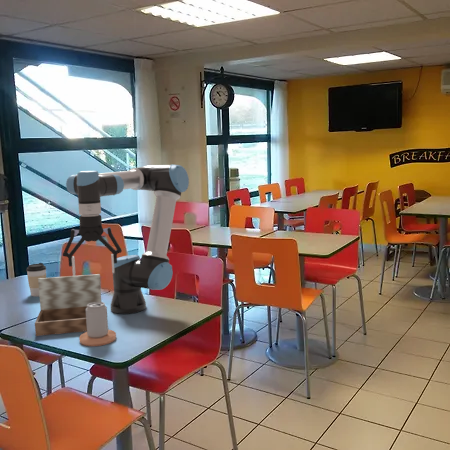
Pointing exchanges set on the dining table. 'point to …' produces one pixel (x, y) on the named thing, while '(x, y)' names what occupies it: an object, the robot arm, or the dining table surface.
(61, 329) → the hinged wooden box
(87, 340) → the brown wooden disc
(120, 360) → the dining table surface
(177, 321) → the dining table surface
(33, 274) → the coffee cup
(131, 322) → the dining table surface
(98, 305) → the can
